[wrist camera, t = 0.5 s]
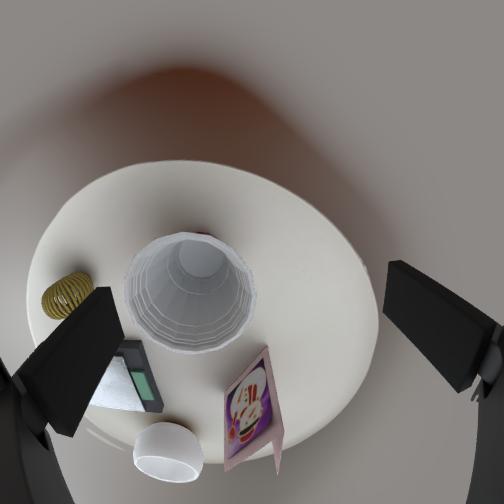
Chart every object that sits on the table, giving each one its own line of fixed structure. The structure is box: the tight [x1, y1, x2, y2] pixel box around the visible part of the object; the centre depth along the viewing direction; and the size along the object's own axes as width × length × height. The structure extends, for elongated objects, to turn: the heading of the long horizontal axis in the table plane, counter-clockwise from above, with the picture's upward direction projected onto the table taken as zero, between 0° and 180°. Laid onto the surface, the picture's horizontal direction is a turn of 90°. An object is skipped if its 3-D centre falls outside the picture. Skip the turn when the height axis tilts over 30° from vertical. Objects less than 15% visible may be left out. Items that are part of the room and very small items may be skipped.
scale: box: [89, 340, 164, 413], centre depth 35 cm, size 14×15×3 cm
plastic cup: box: [125, 232, 257, 355], centre depth 26 cm, size 11×11×12 cm
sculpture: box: [42, 272, 94, 320], centre depth 28 cm, size 8×4×8 cm, turn 110°
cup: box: [133, 422, 203, 483], centre depth 37 cm, size 12×12×10 cm
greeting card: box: [224, 346, 284, 474], centre depth 31 cm, size 11×7×15 cm, turn 146°
